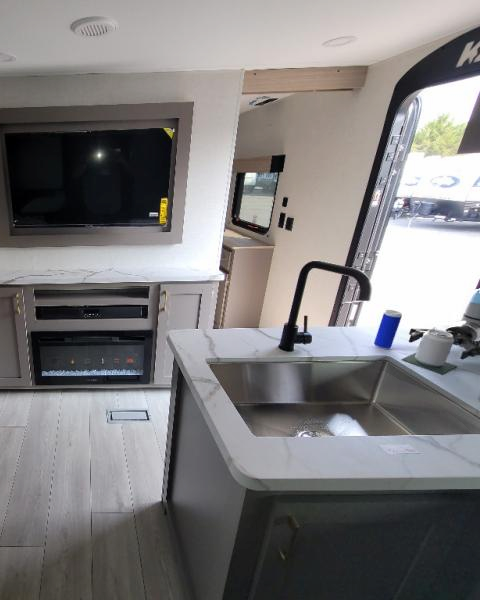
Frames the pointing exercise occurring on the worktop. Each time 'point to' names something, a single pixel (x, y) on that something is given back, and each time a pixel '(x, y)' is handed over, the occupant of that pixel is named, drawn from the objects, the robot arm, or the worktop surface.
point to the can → (434, 347)
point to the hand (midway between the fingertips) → (435, 346)
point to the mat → (439, 369)
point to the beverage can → (387, 329)
